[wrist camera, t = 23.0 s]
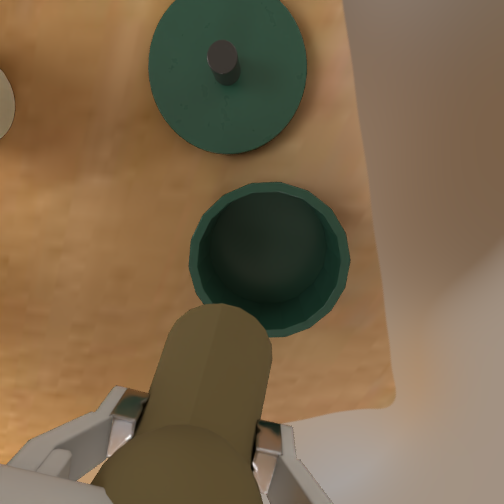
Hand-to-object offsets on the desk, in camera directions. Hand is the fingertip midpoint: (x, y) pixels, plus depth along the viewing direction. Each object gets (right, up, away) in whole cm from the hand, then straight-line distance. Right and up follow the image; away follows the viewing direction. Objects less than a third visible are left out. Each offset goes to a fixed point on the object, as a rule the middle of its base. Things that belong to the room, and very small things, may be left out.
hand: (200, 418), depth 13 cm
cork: (0, +1, +5) cm, 5 cm away
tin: (+4, +7, +22) cm, 23 cm away
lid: (0, +24, +18) cm, 30 cm away
